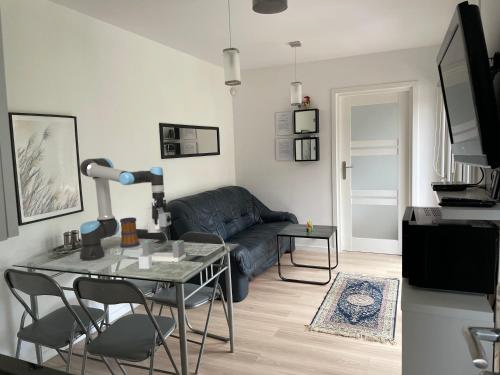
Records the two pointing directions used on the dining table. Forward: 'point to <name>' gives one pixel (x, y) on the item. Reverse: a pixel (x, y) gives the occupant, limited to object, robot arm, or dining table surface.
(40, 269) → the dining table surface
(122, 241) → the mug
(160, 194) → the robot arm
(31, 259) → the dining table surface
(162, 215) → the circuit breaker
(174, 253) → the rail plate
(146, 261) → the block
